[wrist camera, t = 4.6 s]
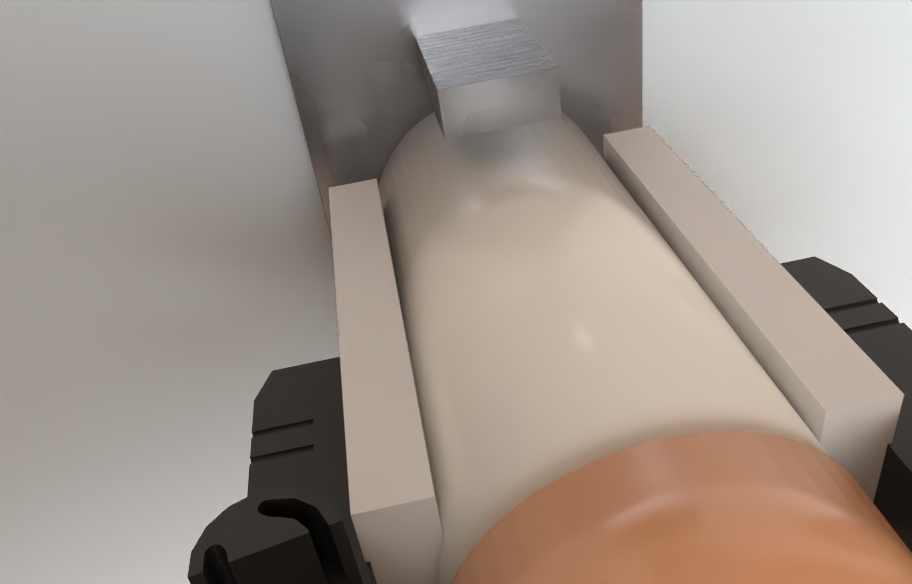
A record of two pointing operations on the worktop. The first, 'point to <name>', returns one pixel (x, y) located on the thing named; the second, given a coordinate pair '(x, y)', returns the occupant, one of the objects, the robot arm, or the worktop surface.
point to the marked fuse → (597, 387)
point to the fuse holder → (453, 72)
